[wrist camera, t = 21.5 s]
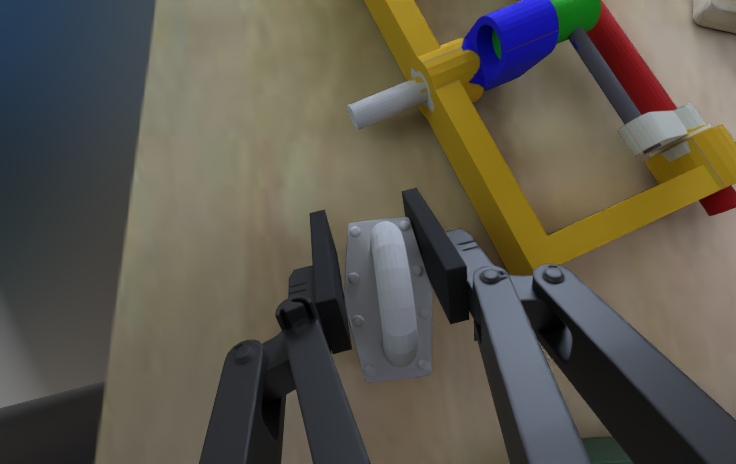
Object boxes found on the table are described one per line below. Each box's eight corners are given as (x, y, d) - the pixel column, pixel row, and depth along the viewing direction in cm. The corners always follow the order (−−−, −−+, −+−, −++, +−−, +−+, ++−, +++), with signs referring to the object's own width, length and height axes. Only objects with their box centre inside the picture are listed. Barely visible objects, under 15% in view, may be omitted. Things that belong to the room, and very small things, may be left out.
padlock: (343, 243, 22) (320, 186, 12) (410, 235, 22) (442, 173, 12) (356, 368, 20) (343, 420, 10) (428, 359, 20) (481, 403, 11)
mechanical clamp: (519, -264, 22) (857, 164, 16) (486, -138, 28) (722, 205, 22) (230, -168, 20) (484, 343, 14) (263, -57, 27) (450, 334, 21)
